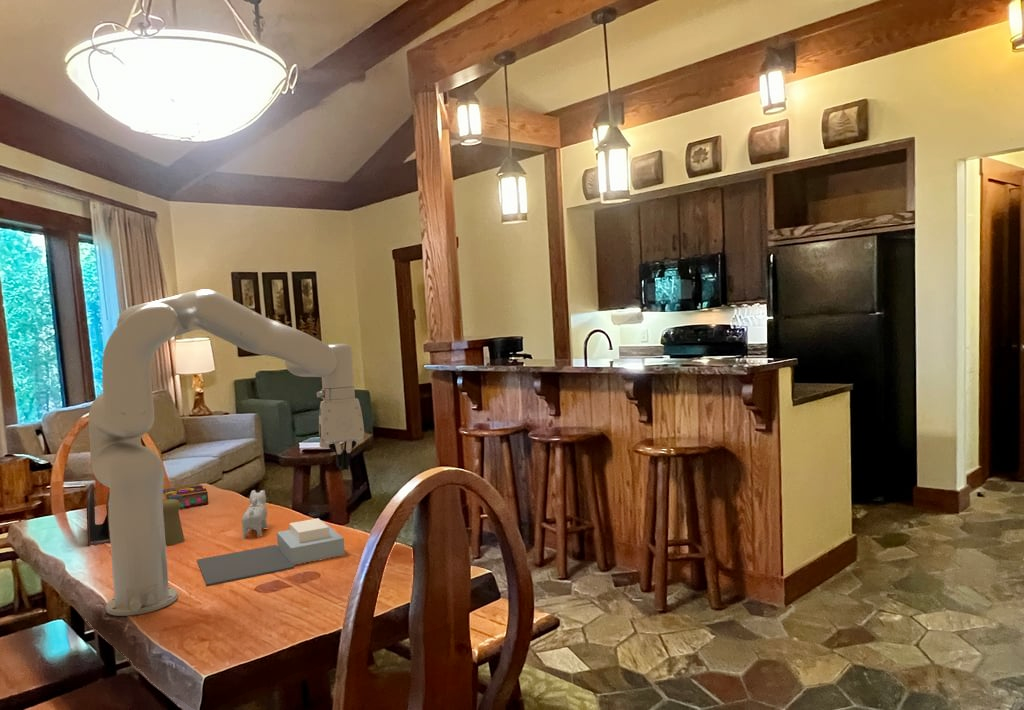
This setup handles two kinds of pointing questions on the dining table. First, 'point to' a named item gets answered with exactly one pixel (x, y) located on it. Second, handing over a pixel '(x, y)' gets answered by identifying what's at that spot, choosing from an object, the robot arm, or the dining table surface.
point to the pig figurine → (255, 514)
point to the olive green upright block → (172, 522)
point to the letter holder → (94, 532)
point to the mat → (243, 564)
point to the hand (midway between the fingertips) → (343, 469)
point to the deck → (310, 547)
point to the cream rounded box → (309, 530)
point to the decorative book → (188, 495)
